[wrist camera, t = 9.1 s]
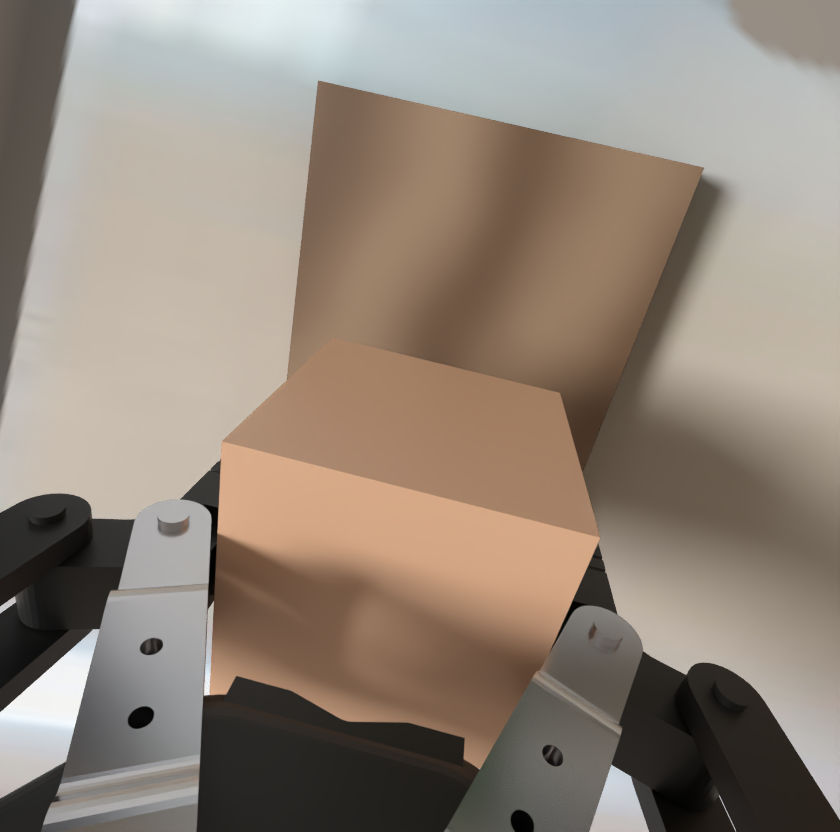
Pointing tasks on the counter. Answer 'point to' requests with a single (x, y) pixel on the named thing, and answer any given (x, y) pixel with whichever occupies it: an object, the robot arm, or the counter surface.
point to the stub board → (482, 246)
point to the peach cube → (399, 541)
